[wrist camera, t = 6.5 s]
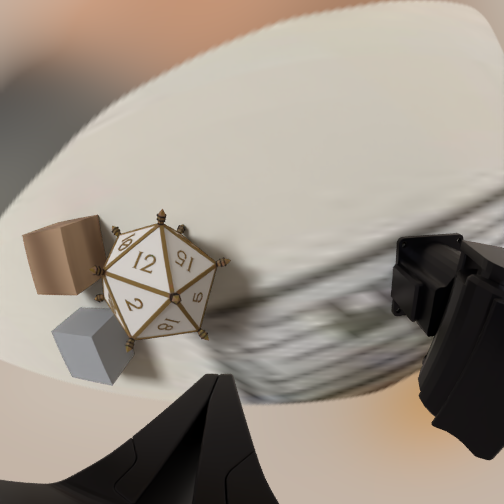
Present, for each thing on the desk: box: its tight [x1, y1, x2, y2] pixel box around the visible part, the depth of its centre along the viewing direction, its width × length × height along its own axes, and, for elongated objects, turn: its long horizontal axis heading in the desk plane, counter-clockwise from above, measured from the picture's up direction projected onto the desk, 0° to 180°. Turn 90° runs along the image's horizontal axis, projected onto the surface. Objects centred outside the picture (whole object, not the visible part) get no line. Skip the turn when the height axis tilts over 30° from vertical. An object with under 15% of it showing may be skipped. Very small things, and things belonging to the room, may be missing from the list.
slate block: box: [51, 307, 134, 386], centre depth 21 cm, size 5×5×5 cm
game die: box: [89, 209, 231, 353], centre depth 17 cm, size 9×8×10 cm
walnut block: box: [22, 215, 107, 295], centre depth 19 cm, size 5×5×5 cm
